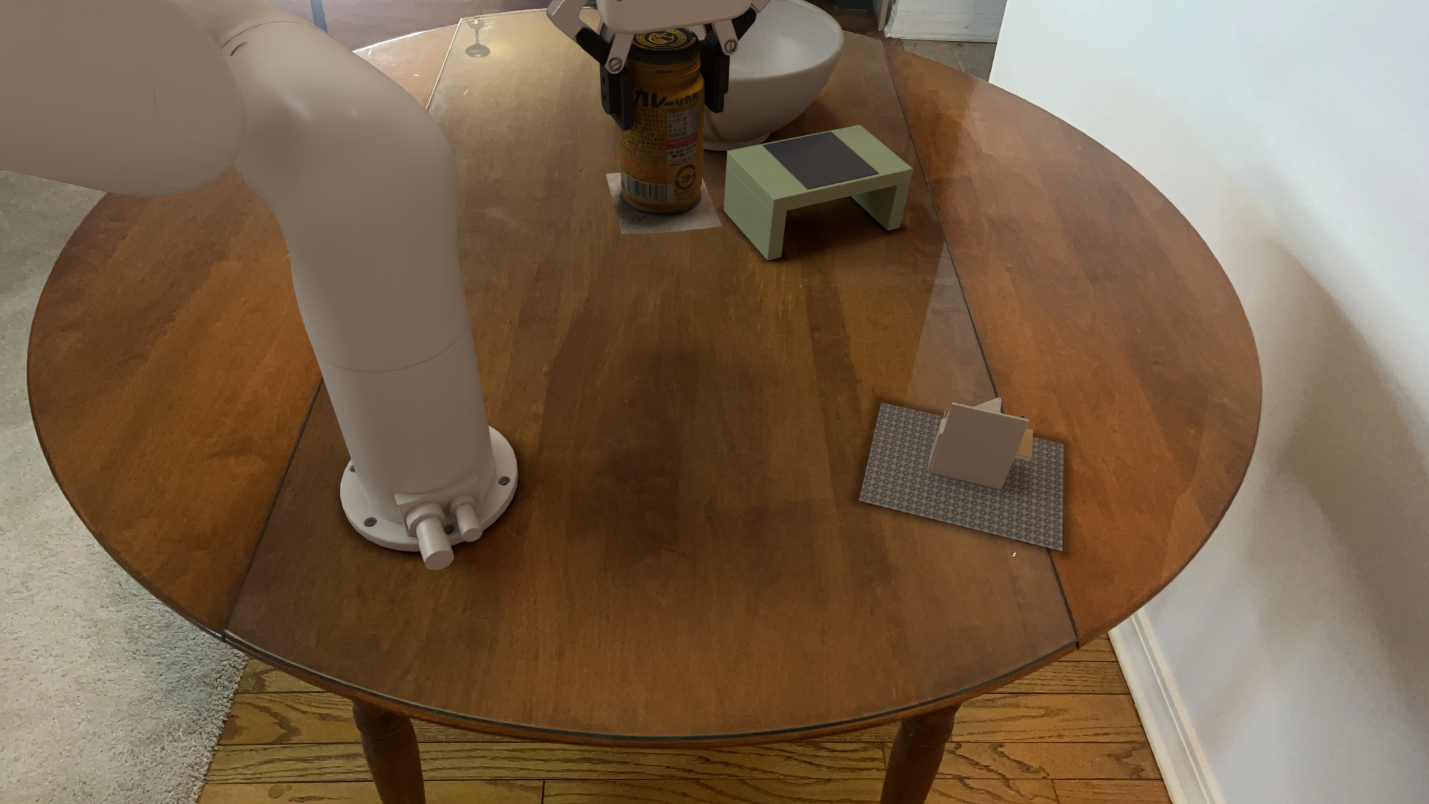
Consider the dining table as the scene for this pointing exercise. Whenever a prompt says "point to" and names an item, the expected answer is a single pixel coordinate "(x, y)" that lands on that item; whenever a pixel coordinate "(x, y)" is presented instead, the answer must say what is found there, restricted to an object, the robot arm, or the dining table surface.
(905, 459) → the architectural model
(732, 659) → the dining table surface
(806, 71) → the decorative bowl
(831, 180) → the shelf
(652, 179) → the condiment
